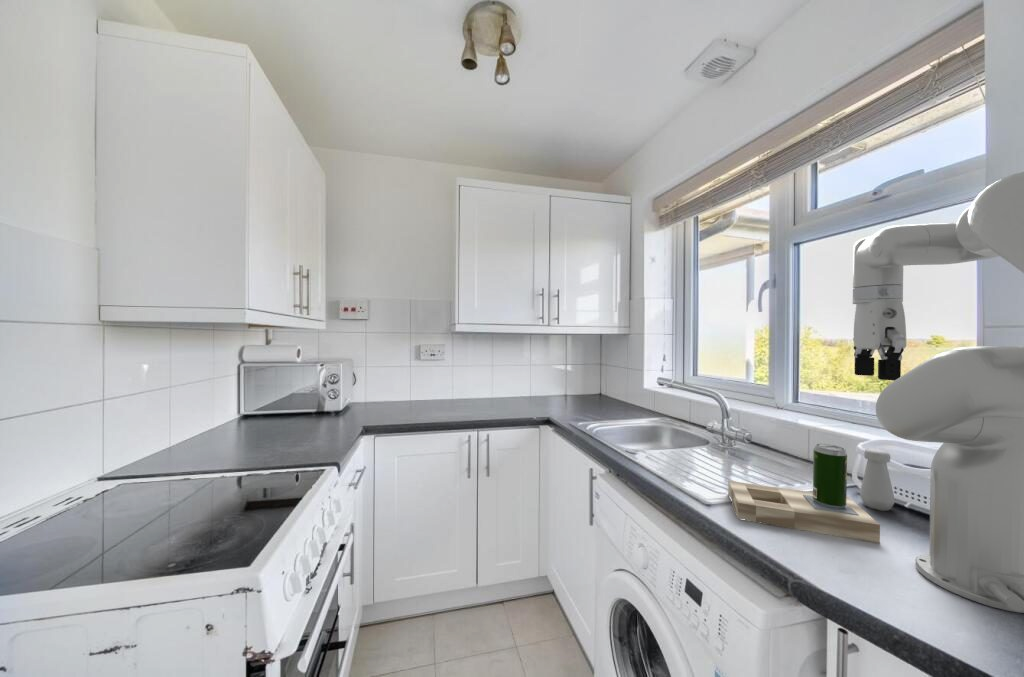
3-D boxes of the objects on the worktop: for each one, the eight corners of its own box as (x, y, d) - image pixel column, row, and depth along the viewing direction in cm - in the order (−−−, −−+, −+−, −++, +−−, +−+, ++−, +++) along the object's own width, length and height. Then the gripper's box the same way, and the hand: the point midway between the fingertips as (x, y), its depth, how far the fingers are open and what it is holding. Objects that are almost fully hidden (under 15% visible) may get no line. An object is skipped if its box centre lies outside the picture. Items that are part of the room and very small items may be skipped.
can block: (879, 543, 69) (880, 523, 69) (738, 519, 78) (738, 501, 78) (848, 512, 81) (848, 496, 81) (728, 495, 90) (728, 479, 90)
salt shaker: (889, 504, 85) (890, 448, 85) (899, 515, 81) (900, 455, 80) (855, 499, 88) (856, 444, 88) (863, 508, 83) (863, 451, 83)
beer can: (821, 508, 75) (822, 449, 75) (807, 497, 81) (807, 442, 80) (852, 511, 74) (853, 451, 74) (835, 499, 79) (836, 444, 79)
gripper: (928, 290, 68) (927, 383, 68) (878, 299, 84) (877, 374, 84) (875, 292, 71) (874, 381, 71) (836, 300, 87) (835, 373, 87)
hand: (875, 377), depth 78 cm, fingers open, 9 cm apart
